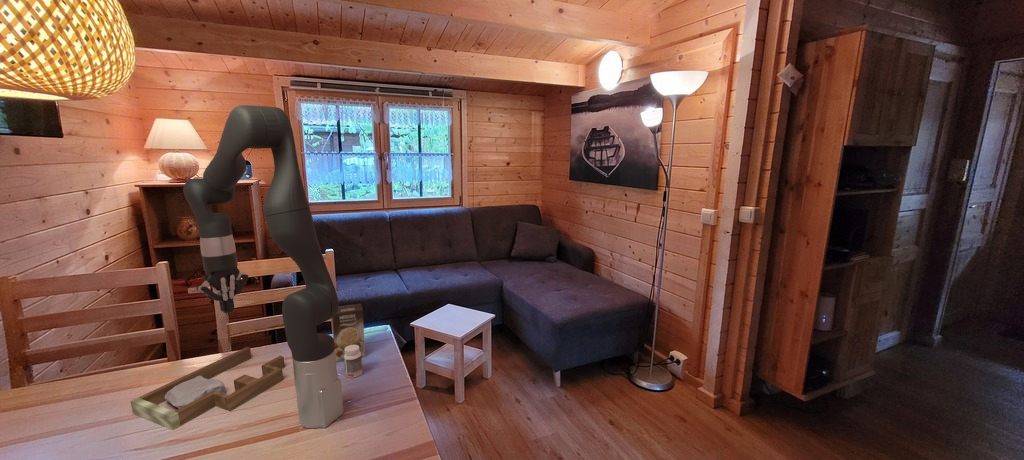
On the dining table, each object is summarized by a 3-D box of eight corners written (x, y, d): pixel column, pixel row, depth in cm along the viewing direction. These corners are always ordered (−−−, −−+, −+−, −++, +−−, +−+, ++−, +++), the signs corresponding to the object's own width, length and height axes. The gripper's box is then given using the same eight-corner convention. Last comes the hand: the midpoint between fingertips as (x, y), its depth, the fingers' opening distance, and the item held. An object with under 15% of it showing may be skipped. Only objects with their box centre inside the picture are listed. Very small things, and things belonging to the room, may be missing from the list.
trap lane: (298, 370, 117) (297, 360, 116) (188, 436, 90) (185, 422, 90) (248, 357, 125) (246, 346, 124) (132, 413, 98) (130, 401, 97)
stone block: (194, 420, 98) (231, 391, 107) (186, 406, 96) (224, 377, 105) (162, 412, 102) (200, 384, 111) (154, 398, 100) (193, 371, 109)
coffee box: (334, 363, 122) (330, 314, 119) (334, 353, 127) (330, 307, 124) (366, 356, 126) (362, 309, 122) (364, 347, 131) (361, 302, 128)
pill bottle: (366, 372, 117) (364, 346, 115) (352, 380, 113) (350, 353, 111) (356, 367, 119) (354, 342, 118) (342, 375, 115) (339, 348, 114)
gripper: (201, 259, 99) (211, 323, 102) (252, 247, 111) (260, 305, 115) (182, 256, 102) (193, 319, 105) (234, 245, 114) (242, 302, 117)
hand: (228, 311), depth 110 cm, fingers closed
